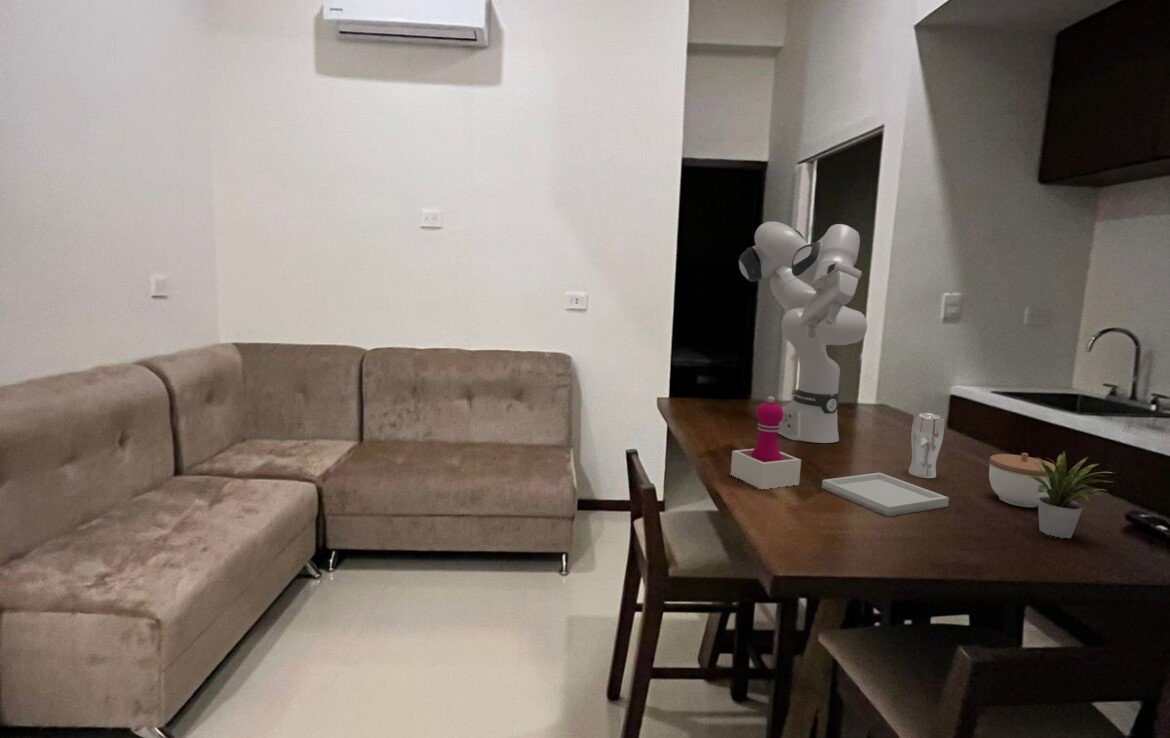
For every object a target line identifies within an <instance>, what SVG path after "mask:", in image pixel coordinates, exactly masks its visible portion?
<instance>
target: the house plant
mask: <svg viewBox="0 0 1170 738" xmlns="http://www.w3.org/2000/svg"><path fill="white" fill-rule="evenodd" d="M1036 459H1039V461H1040V462H1041V463H1040V464H1042V466H1043V468H1044V469H1045V471H1046V473H1047V475H1048V478H1049V480H1048V478H1047V476H1046V475H1045V473H1044V472H1043V471H1042V470H1041V471H1042V472H1043V474H1044V475H1045V476H1046V478H1047V480H1048V482H1049V481H1050V482H1049V485H1050V484H1051V485H1050V487H1051V489H1050V488H1049V487H1048V485H1047V484H1046V483H1045V482H1044V481H1043V480H1042V479H1041V478H1039V477H1037V476H1035V475H1027V476H1028V477H1031V478H1033V479H1035V480H1037V481H1038V482H1040V483H1041V484H1042V485H1043V486H1042V485H1039V488H1038V492H1047V493H1048V495H1049V497H1048V496H1043V497H1039V498H1038V506H1037V509H1038V511H1037V512H1038V524H1039V525H1038V526H1039V532H1040V531H1041V532H1040V533H1042V532H1043V533H1045V534H1044V535H1046V534H1047V535H1046V536H1049V535H1051V536H1050V537H1052V536H1055V537H1054V538H1056V537H1060V538H1059V539H1063V538H1068V539H1071V538H1072V537H1073V535H1074V531H1075V530H1076V526H1077V523H1078V521H1079V519H1080V516H1081V513H1082V511H1083V508H1084V507H1083V505H1082V504H1080V503H1077V502H1075V500H1077V499H1079V498H1081V497H1084V498H1085V499H1086V501H1087V503H1088V504H1089V499H1090V497H1089V495H1098V496H1101V497H1102V498H1104V497H1103V494H1102V492H1101V491H1105V489H1104V488H1096V489H1095V488H1093V487H1089V486H1084V487H1083V486H1082V487H1079V486H1081V485H1084V484H1085V485H1086V484H1090V483H1091V484H1092V483H1113V481H1111V480H1105V479H1094V477H1095V478H1096V477H1104V475H1103V474H1115V472H1110V471H1099V472H1098V471H1097V472H1093V473H1092V472H1091V473H1090V471H1091V470H1092V468H1095V467H1096V466H1098V465H1099V463H1093V464H1090V465H1087V466H1086V467H1083V468H1081V467H1082V465H1083V464H1084V463H1085V462H1086V461H1087V459H1088V456H1087V457H1084V458H1083V459H1080V461H1079V462H1077V463H1075V465H1074V466H1072V467H1071V469H1070V470H1069V471H1068V472H1067V464H1068V463H1067V461H1066V452H1065V450H1063V452H1062V454H1059V455H1058V457H1057V459H1056V462H1055V461H1054V460H1053V459H1050V458H1048V457H1046V459H1047V460H1050V461H1051V462H1052V464H1054V465H1055V472H1054V473H1053V471H1052V469H1051V468H1050V467H1049V466H1048V465H1046V464H1045V462H1044V461H1045V460H1044V461H1043V459H1041V457H1038V456H1036ZM1034 463H1035V462H1034ZM1035 464H1036V463H1035ZM1036 465H1037V464H1036ZM1037 466H1038V465H1037ZM1038 467H1039V466H1038ZM1039 468H1040V467H1039ZM1080 468H1081V470H1079V469H1080ZM1040 469H1041V468H1040ZM1102 473H1103V474H1102ZM1086 477H1087V478H1086ZM1105 477H1107V475H1105ZM1084 478H1085V479H1084ZM1039 489H1046V490H1047V491H1044V490H1039ZM1084 490H1085V491H1084ZM1107 491H1109V490H1107ZM1038 492H1037V493H1038ZM1043 533H1042V534H1043Z"/></svg>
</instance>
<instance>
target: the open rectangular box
mask: <svg viewBox="0 0 1170 738" xmlns="http://www.w3.org/2000/svg"><path fill="white" fill-rule="evenodd" d="M753 450H754V448H749V449H748V448H747V449H738V450H732V453H731V465H730V476H731V475H732V476H731V477H733V476H734V478H735V477H736V478H735V479H737V478H739V479H741V480H743V481H745V482H744V483H746V482H747V483H746V484H748V483H749V484H748V485H750V484H751V485H750V486H752V485H753V486H752V487H754V486H755V487H754V488H756V487H757V488H756V489H758V490H760V489H762V490H761V491H763V489H765V490H770V488H772V489H778V487H780V488H785V487H786V486H788V487H794V486H793V485H795V486H799V485H800V479H801V477H800V475H801V469H802V468H801V467H802V459H800V458H798V457H795V456H793V455H789V454H787V453H785V452H783V451H780V450H779V452H780V455H781V459H782V460H781V461H772V462H762V461H759V460H757V459H755V458H752V457H750V456H751V454H752V452H753ZM739 479H738V480H739ZM741 480H740V481H741ZM743 481H742V482H743ZM786 488H787V487H786Z"/></svg>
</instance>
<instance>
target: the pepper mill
mask: <svg viewBox="0 0 1170 738" xmlns="http://www.w3.org/2000/svg"><path fill="white" fill-rule="evenodd" d="M775 402H776V399H775V397H774V396H772V395H771V396H770V395H769V396H768V397H767V398H766V402H764V403H761V404H760V405H758V408H756V412H755V413H756V414H755V417H756V418H757V419H758V421H759V422H758V423H757V430H758V438H757V442H756V444H755V446H754V448H753V449H754V450H753V452H752V454H751V456H750V457H752V458H755V459H757V460H759V461H762V462H772V461H781V460H782V459H781V455H780V452H781V451H780V449H779V446H778V434H777V433H778V431H780V429H779V427H780V425H779V422H780V421H781V420H782V419H783V410H782V406H780V405H779V404H777V403H775ZM779 451H780V452H779Z"/></svg>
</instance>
